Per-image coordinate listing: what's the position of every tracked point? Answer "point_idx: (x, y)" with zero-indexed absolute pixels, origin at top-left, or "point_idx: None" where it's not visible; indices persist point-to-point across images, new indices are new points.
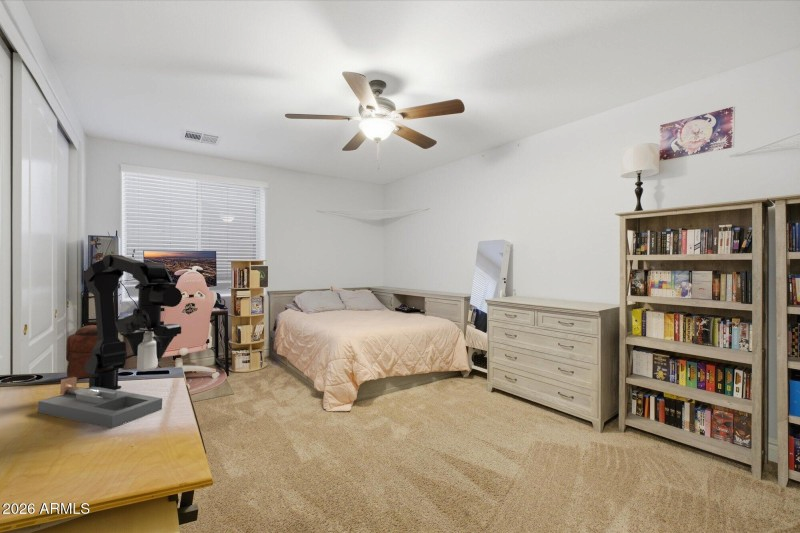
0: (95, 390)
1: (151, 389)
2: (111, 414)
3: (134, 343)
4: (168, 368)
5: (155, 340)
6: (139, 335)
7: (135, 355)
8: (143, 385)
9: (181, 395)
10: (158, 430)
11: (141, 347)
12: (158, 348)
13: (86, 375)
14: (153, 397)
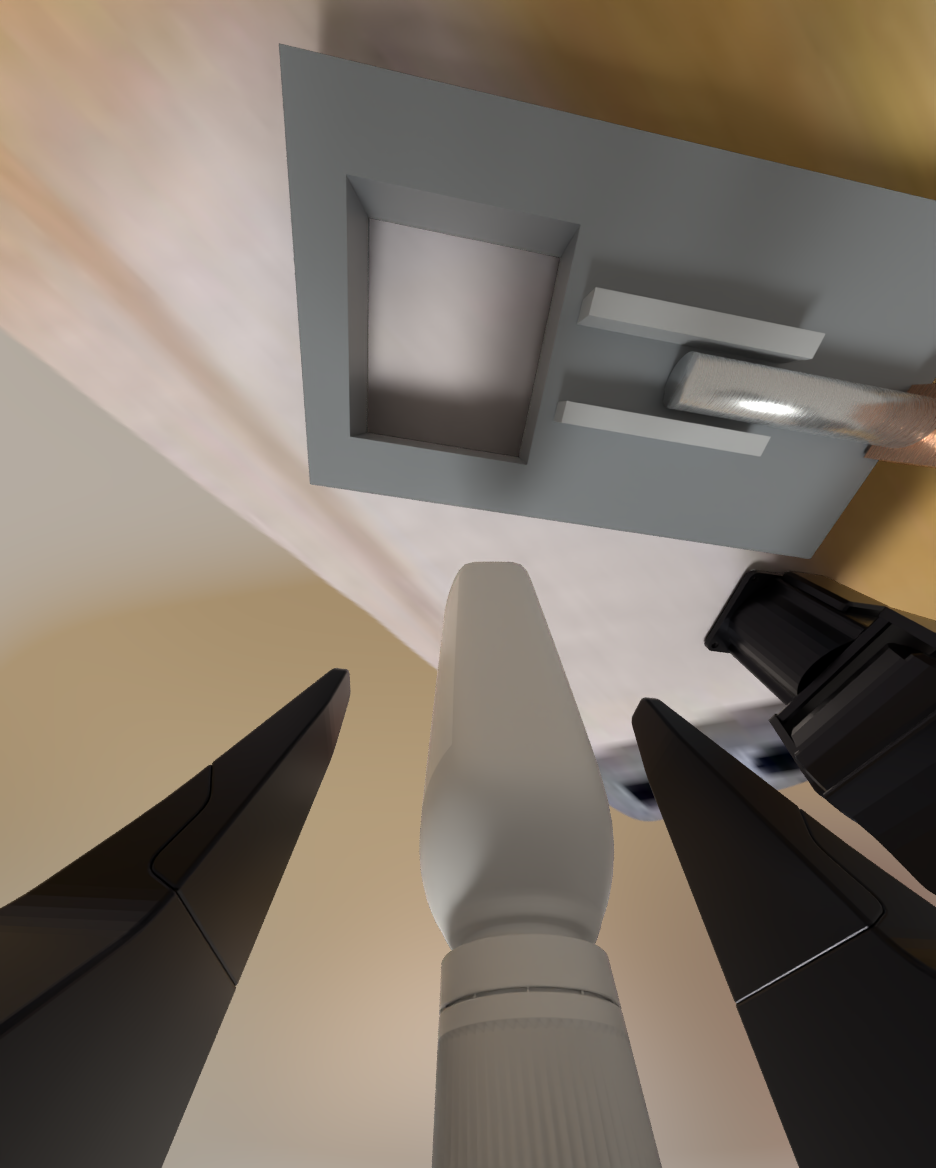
0: (712, 389)
1: (568, 655)
2: (321, 85)
3: (764, 852)
4: (659, 817)
5: (67, 961)
6: (830, 1077)
7: (645, 701)
8: (632, 682)
9: (397, 627)
10: (46, 174)
11: (499, 738)
12: (224, 766)
13: None
14: (367, 484)
